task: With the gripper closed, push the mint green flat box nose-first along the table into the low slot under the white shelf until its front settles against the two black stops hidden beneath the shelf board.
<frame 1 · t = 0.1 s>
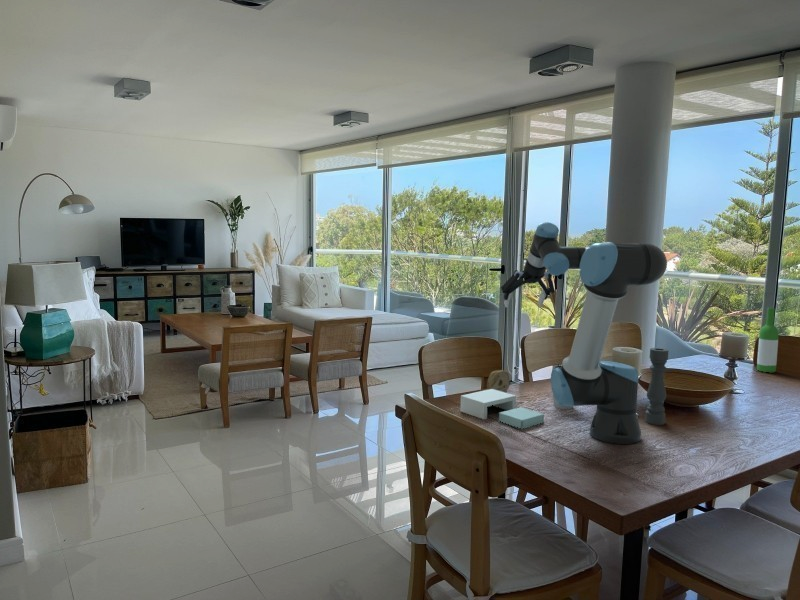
hand: (522, 305, 229), 36 cm above the table, tool tilted 35°, fingers open, 13 cm apart
candle holder: (654, 422, 203), on the table
mint green flat box: (521, 422, 201), on the table
wine bottle: (765, 371, 281), on the table
low shelf: (488, 411, 213), on the table
stone disc: (497, 395, 235), on the table
coffee cup: (563, 406, 220), on the table
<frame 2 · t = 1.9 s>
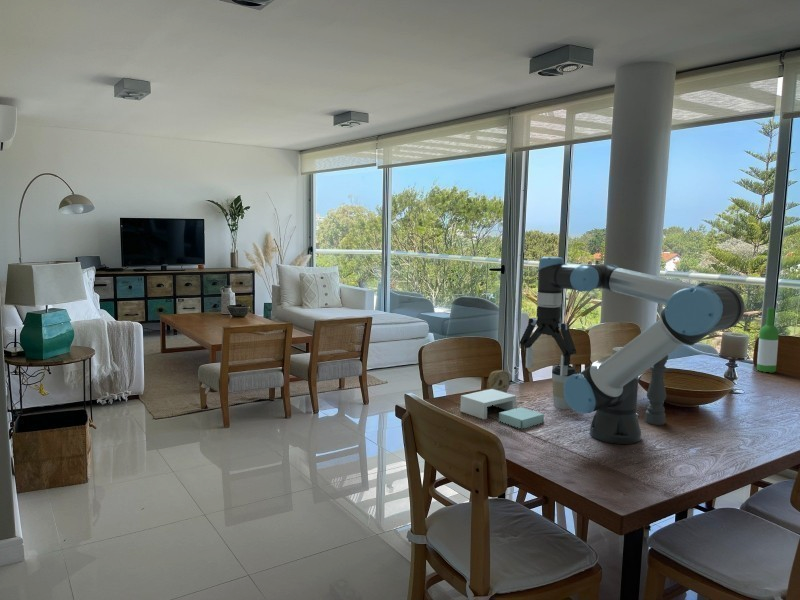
hand: (545, 371, 192), 19 cm above the table, tool pointing down, fingers open, 13 cm apart
nothing on the table moved.
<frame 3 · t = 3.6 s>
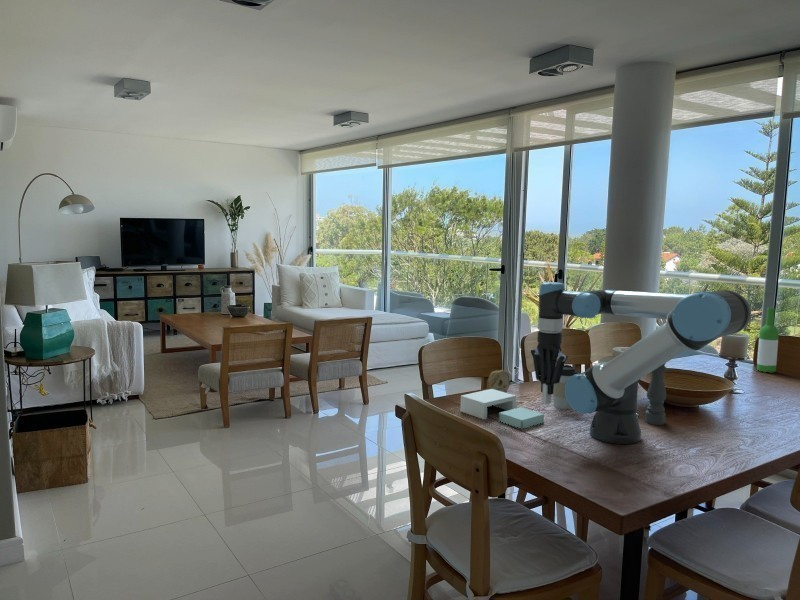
hand: (546, 403, 192), 9 cm above the table, tool pointing down, fingers closed
nothing on the table moved.
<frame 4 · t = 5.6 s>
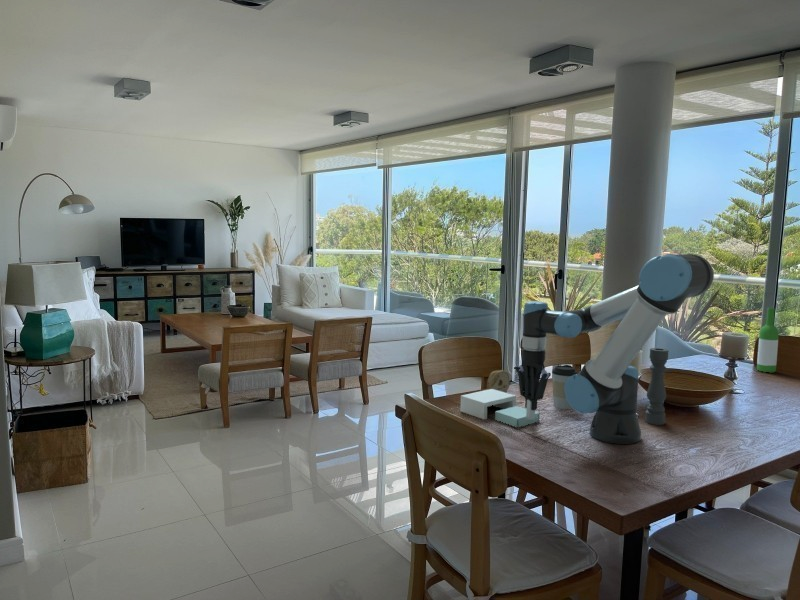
hand: (530, 418, 198), 2 cm above the table, tool pointing down, fingers closed
mint green flat box: (516, 420, 203), on the table
everything else where it was.
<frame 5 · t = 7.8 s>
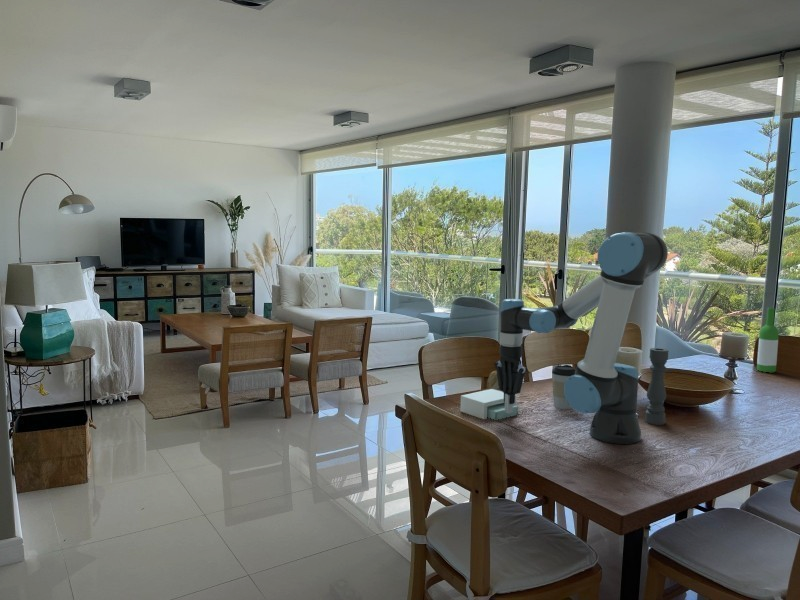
hand: (508, 412, 205), 2 cm above the table, tool pointing down, fingers closed
mint green flat box: (496, 413, 210), on the table
everything else where it was.
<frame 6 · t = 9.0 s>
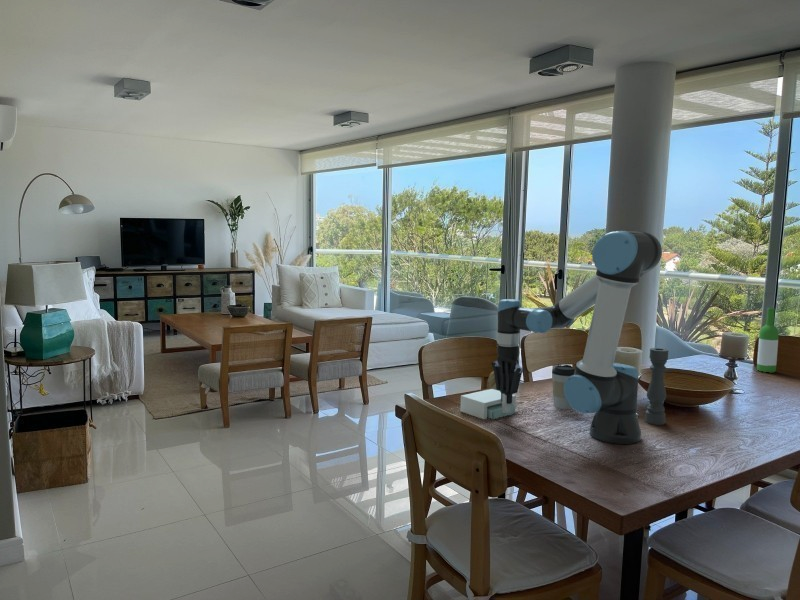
hand: (506, 411, 206), 2 cm above the table, tool pointing down, fingers closed
mint green flat box: (493, 412, 211), on the table
everything else where it was.
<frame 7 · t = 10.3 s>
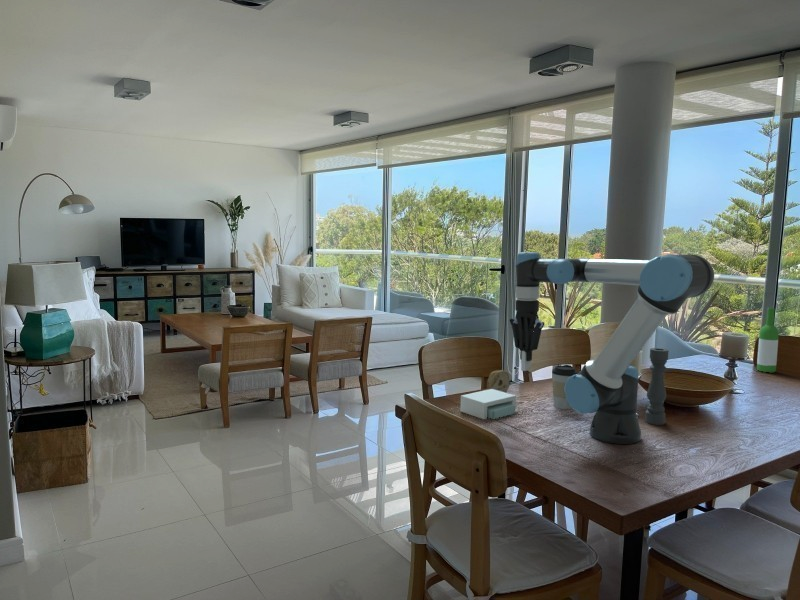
hand: (525, 370, 198), 18 cm above the table, tool pointing down, fingers closed
nothing on the table moved.
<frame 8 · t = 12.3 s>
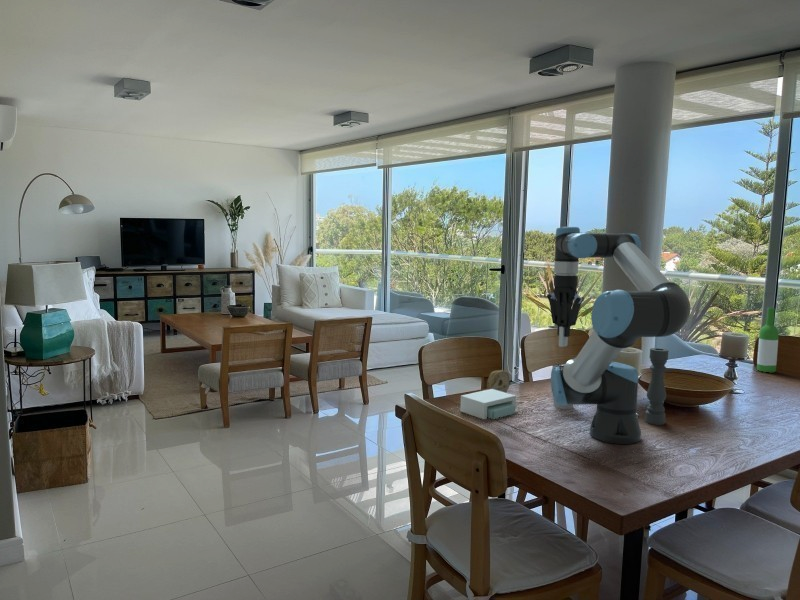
hand: (563, 346, 197), 26 cm above the table, tool pointing down, fingers closed
nothing on the table moved.
at the end: mint green flat box 0.3 cm from the target spot on the low shelf, point 0.0 cm above the low shelf's base; mint green flat box tilted 0° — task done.
